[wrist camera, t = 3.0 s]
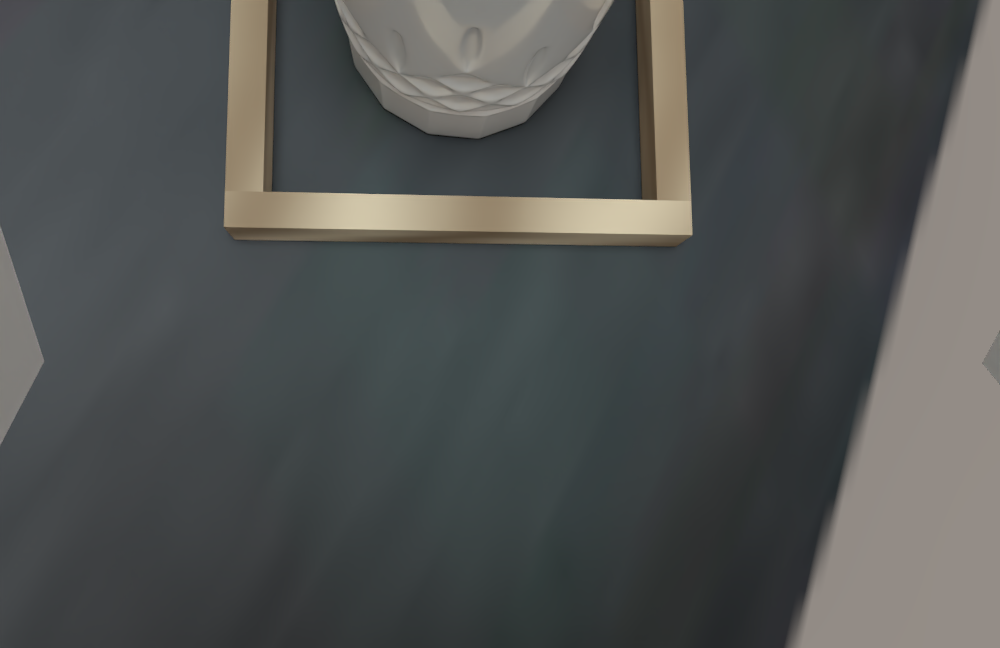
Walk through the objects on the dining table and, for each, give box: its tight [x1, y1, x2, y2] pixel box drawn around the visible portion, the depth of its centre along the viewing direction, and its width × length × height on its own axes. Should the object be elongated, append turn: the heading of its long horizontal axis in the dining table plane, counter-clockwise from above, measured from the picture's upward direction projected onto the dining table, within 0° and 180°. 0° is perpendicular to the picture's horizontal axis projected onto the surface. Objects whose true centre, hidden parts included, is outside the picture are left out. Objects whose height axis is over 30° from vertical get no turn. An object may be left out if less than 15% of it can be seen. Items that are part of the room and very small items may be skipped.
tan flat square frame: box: [224, 0, 692, 247], centre depth 25 cm, size 13×13×2 cm
